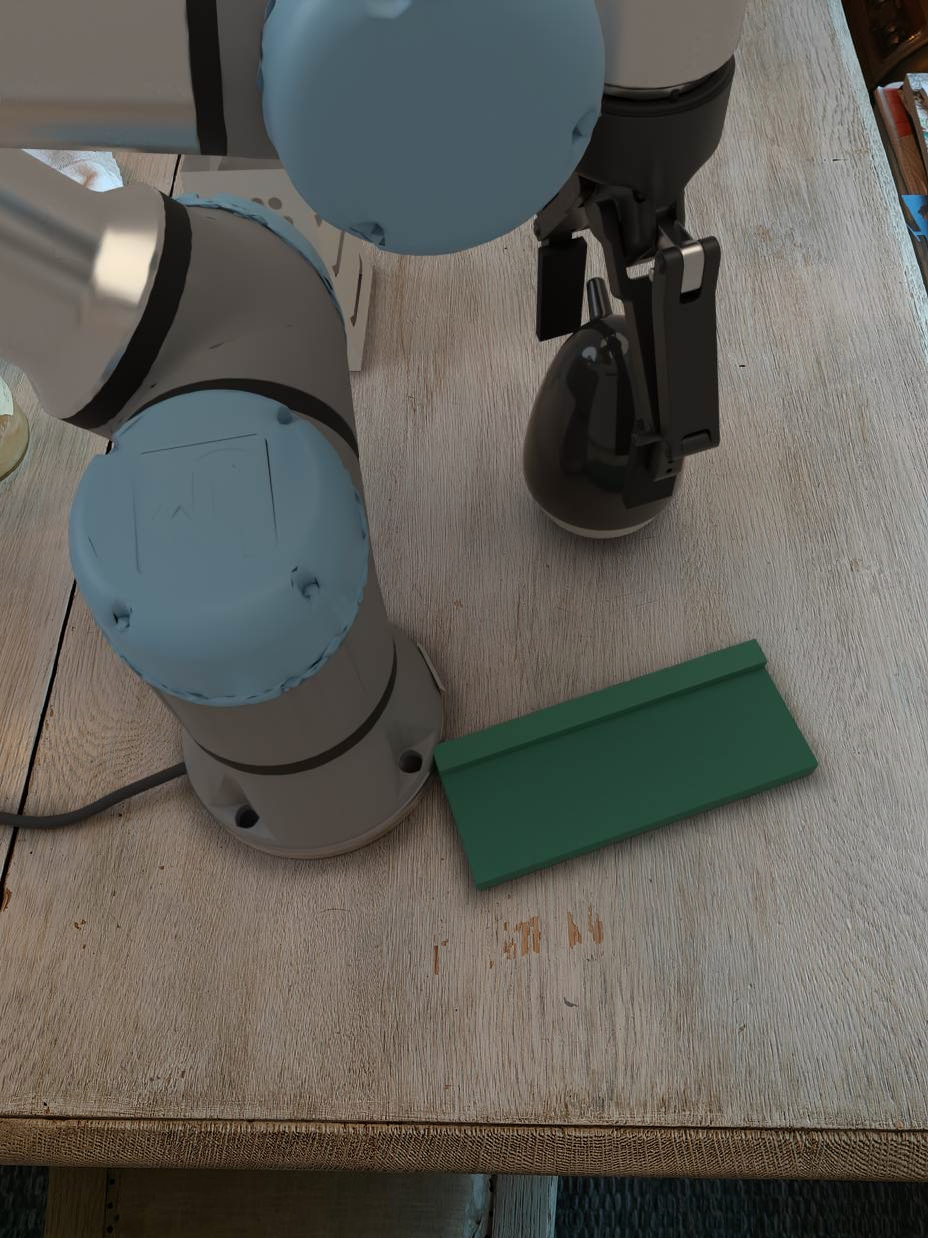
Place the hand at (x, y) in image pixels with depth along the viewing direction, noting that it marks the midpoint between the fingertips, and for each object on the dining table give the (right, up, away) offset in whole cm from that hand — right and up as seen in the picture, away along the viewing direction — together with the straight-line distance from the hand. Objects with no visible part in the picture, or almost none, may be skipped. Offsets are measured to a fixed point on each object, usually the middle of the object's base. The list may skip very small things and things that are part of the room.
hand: (599, 410), depth 56 cm
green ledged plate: (+1, -21, -1) cm, 21 cm away
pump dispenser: (+1, -4, +8) cm, 9 cm away
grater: (-21, +11, +18) cm, 29 cm away
